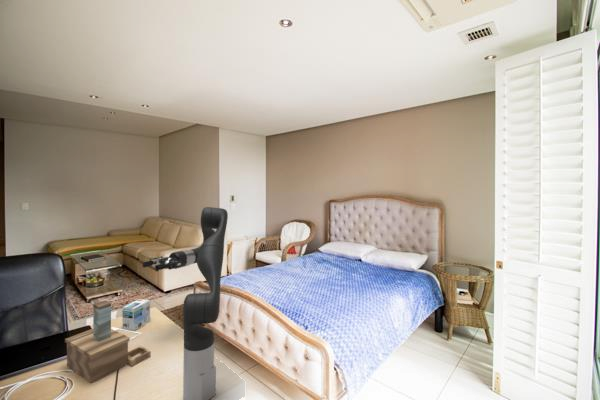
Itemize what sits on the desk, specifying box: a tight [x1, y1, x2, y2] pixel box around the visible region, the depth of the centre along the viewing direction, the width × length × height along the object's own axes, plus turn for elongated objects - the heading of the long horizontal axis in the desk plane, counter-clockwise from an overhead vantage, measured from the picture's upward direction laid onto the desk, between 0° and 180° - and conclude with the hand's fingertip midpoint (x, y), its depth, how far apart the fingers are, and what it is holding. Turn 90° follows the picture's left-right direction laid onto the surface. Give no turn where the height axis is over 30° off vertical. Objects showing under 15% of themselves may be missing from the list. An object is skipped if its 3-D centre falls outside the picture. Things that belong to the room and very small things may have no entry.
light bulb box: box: [121, 298, 151, 332], centre depth 134 cm, size 11×7×11 cm, turn 168°
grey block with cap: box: [92, 300, 112, 342], centre depth 103 cm, size 4×4×13 cm
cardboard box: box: [64, 328, 152, 384], centre depth 106 cm, size 21×20×10 cm
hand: (149, 266), depth 115 cm, fingers open, 8 cm apart
